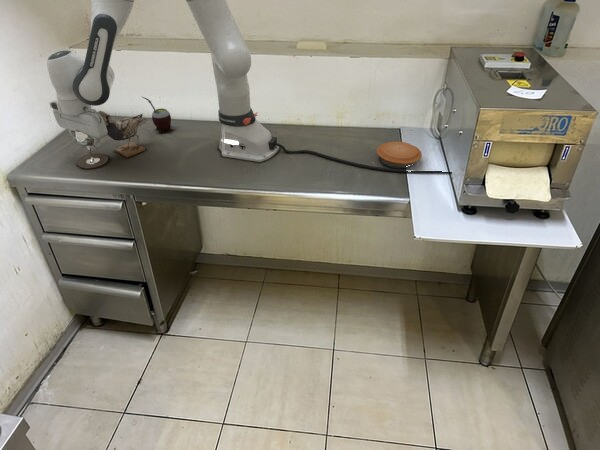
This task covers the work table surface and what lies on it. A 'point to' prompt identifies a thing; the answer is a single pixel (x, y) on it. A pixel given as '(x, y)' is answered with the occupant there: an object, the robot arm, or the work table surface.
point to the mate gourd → (161, 118)
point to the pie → (398, 154)
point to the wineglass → (86, 145)
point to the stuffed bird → (124, 132)
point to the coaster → (102, 162)
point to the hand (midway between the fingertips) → (87, 143)
